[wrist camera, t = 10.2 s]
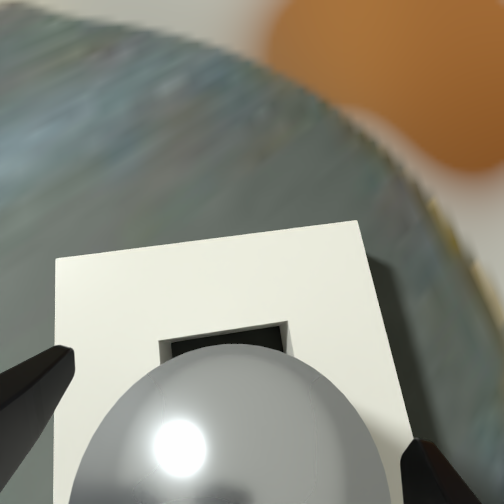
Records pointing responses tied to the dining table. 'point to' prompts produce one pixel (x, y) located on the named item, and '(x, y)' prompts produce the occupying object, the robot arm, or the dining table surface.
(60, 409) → the bore plate
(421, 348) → the dining table surface
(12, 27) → the dining table surface
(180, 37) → the dining table surface
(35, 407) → the robot arm
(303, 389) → the metal peg
